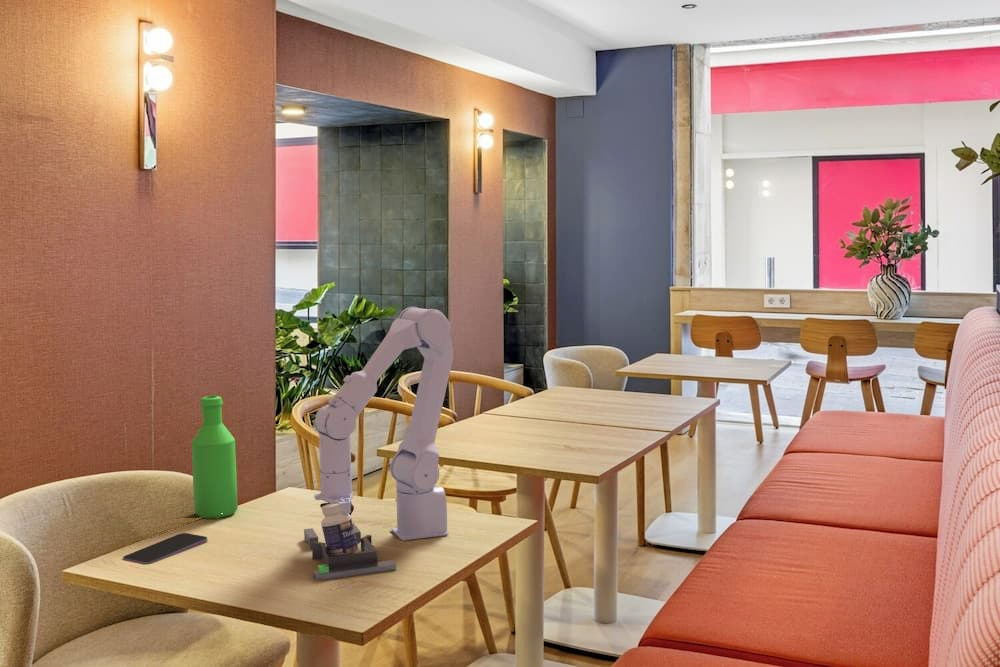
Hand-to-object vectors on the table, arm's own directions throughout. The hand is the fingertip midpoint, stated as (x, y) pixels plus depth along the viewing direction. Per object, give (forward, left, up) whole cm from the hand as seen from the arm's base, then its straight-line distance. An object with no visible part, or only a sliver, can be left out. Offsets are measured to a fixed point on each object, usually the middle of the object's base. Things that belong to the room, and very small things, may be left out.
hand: (338, 541), depth 182 cm
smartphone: (+30, -12, -2) cm, 32 cm away
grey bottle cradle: (0, +9, -1) cm, 9 cm away
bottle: (+19, -33, -2) cm, 38 cm away
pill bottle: (0, +7, -1) cm, 7 cm away
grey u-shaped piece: (0, -5, -1) cm, 5 cm away
